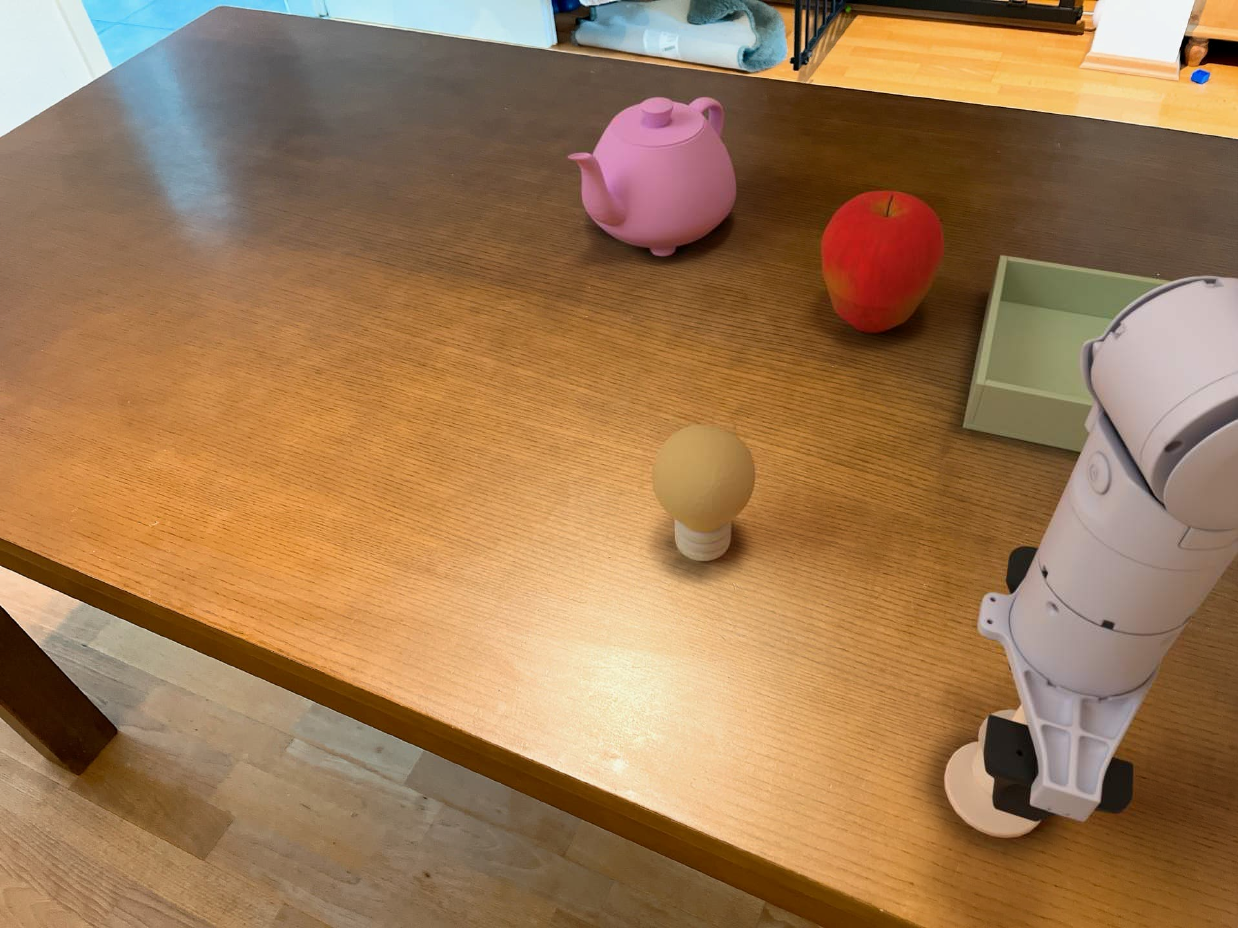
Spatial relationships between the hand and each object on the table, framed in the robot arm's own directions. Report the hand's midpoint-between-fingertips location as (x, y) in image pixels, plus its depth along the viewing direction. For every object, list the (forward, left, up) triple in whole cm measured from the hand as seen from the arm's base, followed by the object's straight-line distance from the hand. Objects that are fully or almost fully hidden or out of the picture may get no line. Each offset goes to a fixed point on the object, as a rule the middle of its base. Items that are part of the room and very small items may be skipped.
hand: (1023, 735), depth 45 cm
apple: (+14, -38, -7) cm, 41 cm away
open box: (-2, -36, -6) cm, 36 cm away
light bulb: (+20, -11, -7) cm, 24 cm away
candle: (0, 0, -7) cm, 7 cm away
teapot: (+36, -46, -7) cm, 59 cm away
